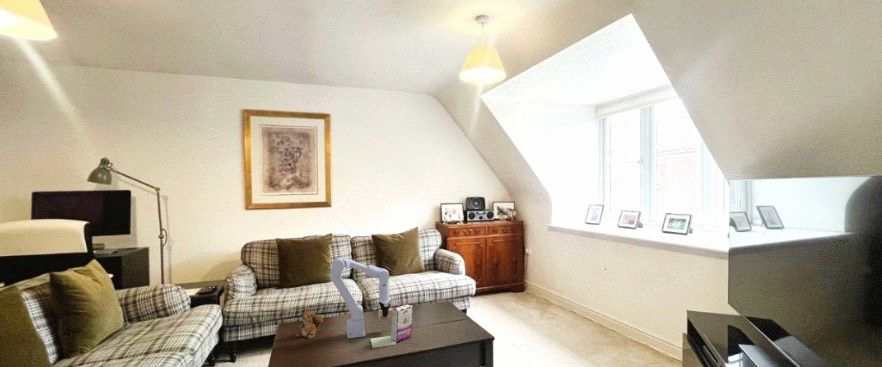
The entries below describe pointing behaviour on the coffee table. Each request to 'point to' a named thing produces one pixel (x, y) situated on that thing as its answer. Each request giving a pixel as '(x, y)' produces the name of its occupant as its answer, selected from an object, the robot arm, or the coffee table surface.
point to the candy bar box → (401, 322)
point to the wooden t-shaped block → (389, 315)
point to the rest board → (382, 342)
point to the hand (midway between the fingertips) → (384, 315)
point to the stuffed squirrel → (309, 325)
